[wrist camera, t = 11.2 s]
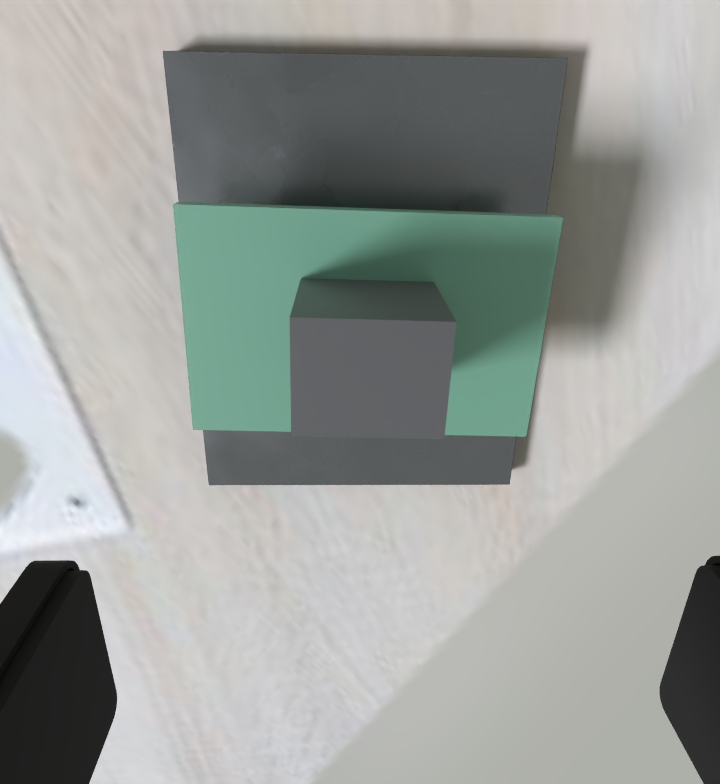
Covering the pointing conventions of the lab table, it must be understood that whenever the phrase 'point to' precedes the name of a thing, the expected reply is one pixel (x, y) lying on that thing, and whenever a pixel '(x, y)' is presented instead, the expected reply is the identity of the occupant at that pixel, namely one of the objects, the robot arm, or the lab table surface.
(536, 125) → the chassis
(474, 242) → the circuit board
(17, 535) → the lab table surface
